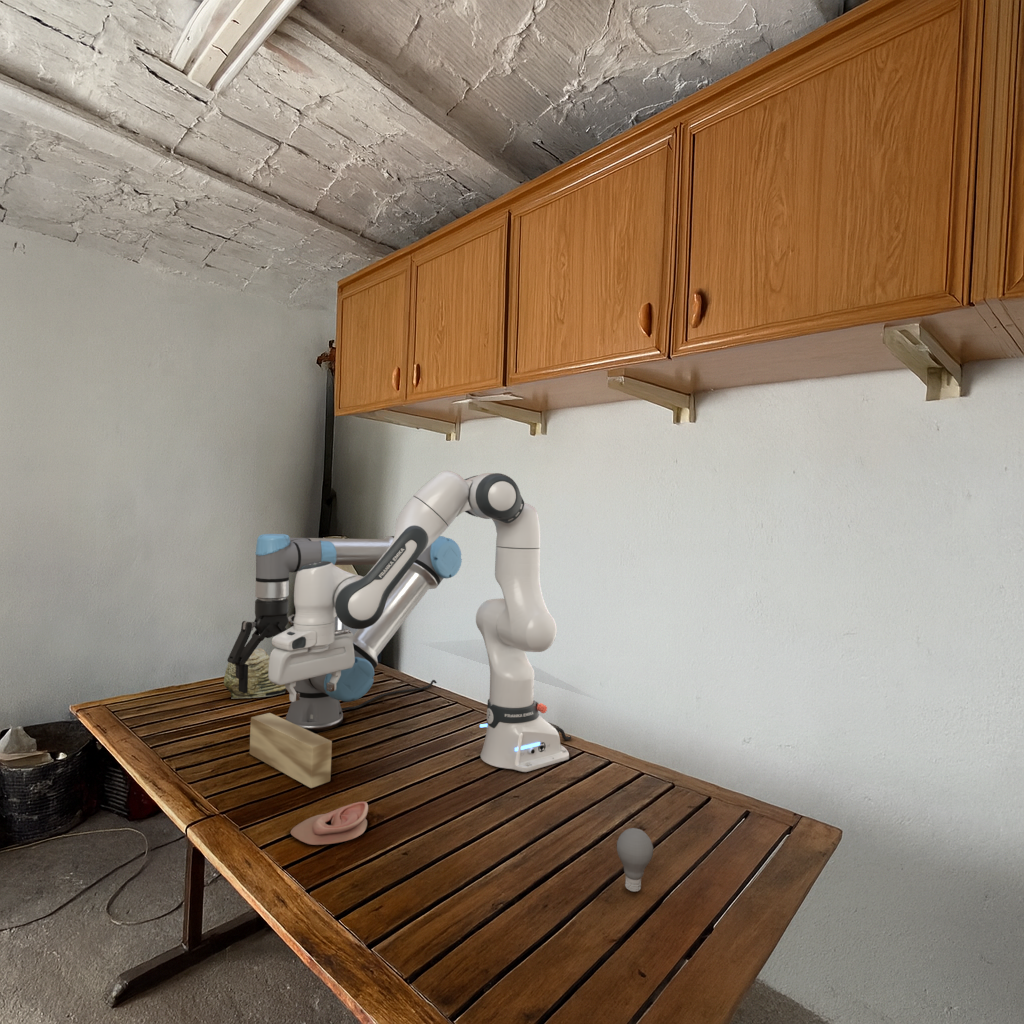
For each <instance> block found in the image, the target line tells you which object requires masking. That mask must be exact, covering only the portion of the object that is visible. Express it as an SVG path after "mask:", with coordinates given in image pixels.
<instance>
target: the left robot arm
mask: <svg viewBox="0 0 1024 1024" xmlns="http://www.w3.org/2000/svg"><path fill="white" fill-rule="evenodd" d="M394 536H395V535H387V536H385V537H384V538H337V537H336V538H334V537H333V538H330V537H328V538H327V537H290V535H288V534H285V533H264V534H263V533H262V534H260V535H258V537H257V539H256V545H255V589H254V591H255V596H254V597H256V599H255V601H254V616H255V618H254V621H248V620H243V621H242V622H241V628H240V631H239V634H238V636H237V637H236V640H235V642H234V645H233V647H232V648H231V651H230V652H229V655H228V657H227V659H226V660H227V663H229V662H230V663H232V664H235V665H236V678H238V679H239V691H240V692H243V693H248V665H247V664H245V663H246V661H247V660H248V659H249V657H250V656H251V654H252V653H253V652H254V650H255V649H257V648H258V646H259V645H260V643H261V642H263V641H264V640H265V639H271V638H273V637H274V636H276V635H278V634H280V633H282V632H284V631H286V630H287V629H288V628H287V625H288V624H289V625H290V628H291V627H292V626H294V617H295V614H294V613H290V614H289V615H288V613H289V599H288V597H289V596H290V595H289V594H290V592H289V591H290V589H289V588H290V587H289V585H290V581H289V580H290V573H297V572H298V570H299V569H300V568H301V567H302V566H304V565H306V564H309V563H314V562H320V561H329V562H332V563H333V564H334V565H335V566H374V565H375V564H376V563H377V562H378V561H379V559H380V558H381V557H382V556H383V555H384V553H385V552H386V551H387V550H388V548H389V547H390V545H391V544H392V542H393V539H394ZM462 560H463V559H462V550H461V548H460V546H459V544H458V543H457V541H455V540H454V539H452V538H449V537H446V536H443V535H440V536H439V537H438V538H437V539H436V540H435V541H434V542H433V543H432V544H431V545H430V546H429V547H428V548H427V549H426V550H425V551H424V552H423V553H422V554H421V555H420V556H419V557H418V558H417V559H416V561H415V562H414V563H413V564H412V566H411V567H410V568H409V570H408V571H407V572H406V573H405V575H404V576H403V577H402V578H401V580H400V581H399V582H398V583H397V585H396V586H395V587H394V588H393V590H392V591H391V593H390V594H389V596H388V598H387V601H386V604H385V608H384V610H383V613H382V615H381V617H380V618H379V620H378V621H377V622H376V623H374V624H373V625H371V626H370V627H367V628H364V629H356V631H355V633H354V634H353V647H354V656H355V663H354V665H353V667H352V668H349V669H345V670H341V676H340V678H339V680H338V682H337V683H336V690H335V691H332V692H329V691H327V689H326V688H327V686H326V683H329V682H330V679H331V677H332V674H330V673H329V674H325V675H321V676H317V677H313V678H309V679H305V680H300V681H296V686H295V687H293V688H294V689H295V691H296V692H299V693H300V696H299V697H300V700H298V701H295V702H292V701H290V704H289V708H288V711H287V713H286V715H285V720H287V721H289V722H291V723H293V724H296V725H298V726H300V727H302V728H304V729H306V730H309V731H311V732H313V733H316V732H325V731H329V730H332V729H335V728H337V727H339V726H340V725H342V723H343V722H344V713H343V711H351V710H355V709H359V708H361V707H364V706H365V705H367V704H369V703H371V702H373V701H376V700H377V699H380V698H382V697H386V696H390V695H394V694H402V693H408V692H414V691H422V690H426V689H429V688H431V687H432V685H433V684H437V683H438V682H437V681H436V680H435V679H432V680H431V681H430V682H429V684H428V685H426V686H421V687H414V688H407V689H401V690H393V691H389V692H385V693H381V694H379V695H377V696H374V697H372V698H370V699H367V700H366V701H364V702H362V703H360V704H358V705H354V706H346V707H342V706H341V702H345V703H347V702H349V703H350V702H355V701H357V700H359V699H361V698H362V697H364V696H366V694H367V693H368V692H369V691H370V689H371V688H372V686H373V684H374V681H375V678H374V677H375V669H376V668H377V666H378V665H379V661H378V656H379V655H380V654H381V652H382V651H383V650H384V648H385V647H386V646H387V644H389V642H390V640H391V639H392V638H393V636H394V635H395V634H396V632H397V631H398V630H399V629H400V627H401V626H402V625H403V624H404V622H405V621H406V620H407V619H408V618H409V616H410V614H411V613H412V612H413V610H414V609H415V608H416V607H417V605H418V604H419V603H420V601H421V600H422V599H423V598H424V596H425V595H426V594H427V592H428V591H429V590H433V589H437V588H438V586H439V585H440V584H441V583H442V582H443V580H444V579H451V578H453V577H455V576H456V575H457V574H458V573H459V571H460V569H461V567H462V562H463V561H462ZM254 629H255V630H254ZM252 631H253V633H252ZM251 633H252V634H251ZM250 636H251V637H250ZM249 638H250V639H249ZM340 701H341V702H340Z"/></svg>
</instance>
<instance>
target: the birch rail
mask: <svg viewBox="0 0 1024 1024" xmlns="http://www.w3.org/2000/svg"><path fill="white" fill-rule="evenodd" d="M332 749H333V741H332V740H330V739H329V738H326V737H324V736H322V735H319V734H317V733H316V732H311V731H309V730H306V729H304V728H302V727H300V726H298V725H296V724H293V723H291V722H289V721H287V720H286V718H282V717H280V716H278V715H276V714H274V713H271V712H267V713H262V714H258V715H255V716H251V717H250V731H249V755H251V756H252V757H254V758H256V759H258V760H260V761H261V762H263V763H265V764H267V765H268V766H270V767H272V768H274V769H275V770H277V771H279V772H280V773H283V774H284V775H287V776H288V777H289V778H291V779H293V780H296V781H297V782H299V783H301V784H303V785H304V786H306V787H307V788H310V789H313V788H316V787H319V786H322V785H324V784H327V783H329V782H331V780H332V779H331V776H332V775H331V774H332V751H333V750H332Z"/></svg>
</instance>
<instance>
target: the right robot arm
mask: <svg viewBox="0 0 1024 1024" xmlns="http://www.w3.org/2000/svg"><path fill="white" fill-rule="evenodd" d="M463 513H466V514H468V515H470V516H472V517H475V518H480V519H485V520H492V522H493V523H494V526H495V530H496V531H495V532H496V538H495V539H496V540H495V562H494V576H495V577H494V578H495V580H496V582H497V584H498V585H499V587H500V589H501V593H502V595H503V598H502V597H501V598H490V599H486V600H485V601H483V602H482V603H481V604H480V606H479V607H478V608H477V611H476V614H475V624H476V627H477V629H478V630H479V632H480V634H481V636H482V638H483V641H484V645H485V649H486V654H487V659H488V664H489V696H488V697H489V698H488V699H487V705H486V723H482V724H479V728H486V732H485V737H484V741H483V746H482V749H481V752H480V755H479V757H480V759H481V761H483V762H484V763H486V764H487V765H490V766H492V767H496V768H500V769H507V770H514V771H518V772H522V773H527V772H531V771H535V770H538V769H541V768H544V767H548V766H551V765H555V764H558V763H561V762H564V761H568V760H569V759H570V753H569V751H568V750H567V748H566V747H565V746H563V744H561V738H560V735H561V736H562V739H563V740H564V741H569V740H571V739H572V736H571V735H568V736H570V737H568V736H566V734H565V731H564V729H563V728H562V727H560V726H559V725H556V724H554V723H552V722H549V721H548V720H546V719H544V718H543V716H541V715H540V713H541V714H545V713H546V712H548V706H547V705H545V704H544V703H540V702H538V701H536V700H534V696H535V695H534V693H535V675H536V674H535V670H534V667H533V665H532V664H531V662H530V660H529V658H528V655H527V653H542V652H545V651H547V650H548V649H550V648H551V646H552V645H553V644H554V642H555V639H556V637H557V633H558V632H557V631H558V627H557V623H556V620H555V618H554V616H552V614H551V613H550V611H549V610H548V607H547V605H546V601H545V599H544V594H543V590H542V586H541V578H540V577H541V576H540V575H541V574H540V572H541V571H540V567H541V566H540V564H541V562H540V561H541V526H540V518H539V513H538V511H537V509H536V508H535V507H534V506H533V505H531V504H530V503H527V502H525V501H524V499H523V497H522V495H521V491H520V489H519V486H518V484H517V483H516V482H515V480H514V479H513V478H511V477H510V476H508V475H506V474H504V473H501V472H495V473H494V472H486V473H481V474H478V475H473V476H470V477H468V478H464V477H462V476H461V475H460V474H458V473H457V472H455V471H451V470H443V471H440V472H438V473H436V474H435V475H434V476H433V477H431V478H430V479H429V480H428V481H426V482H425V484H423V485H422V486H421V487H420V488H419V489H418V490H417V491H416V492H415V493H414V494H413V496H411V497H410V499H409V500H408V501H407V502H406V503H405V505H404V506H403V507H402V508H401V511H400V512H399V514H398V516H397V518H396V520H395V529H394V531H395V532H394V535H393V536H394V539H393V542H392V544H391V545H390V547H389V548H388V550H387V551H386V552H385V553H384V555H383V556H382V557H381V558H380V559H379V561H378V562H377V563H376V564H375V565H373V566H372V568H371V569H370V570H369V571H368V572H367V574H366V575H364V576H362V575H359V574H355V573H352V572H350V571H346V570H345V569H342V568H341V567H339V566H338V565H334V564H333V563H332V562H329V561H320V562H314V563H309V564H306V565H304V566H302V567H301V568H300V569H299V570H298V572H296V575H295V579H294V589H293V605H294V608H295V614H294V615H295V617H294V626H292V627H291V626H290V627H289V628H286V629H287V630H286V631H284V632H282V633H280V634H278V635H276V636H273V637H271V638H272V639H271V644H272V647H274V648H273V649H272V650H271V652H270V655H269V656H270V659H269V670H268V677H269V680H270V681H271V682H272V683H274V684H276V685H284V684H285V687H286V689H287V690H286V691H287V692H288V693H289V694H288V695H289V696H288V697H289V698H288V699H289V701H290V702H295V701H298V700H300V697H299V696H300V693H299V692H296V691H295V689H294V687H295V686H296V681H300V680H305V679H309V678H313V677H317V676H321V675H325V674H329V673H330V674H332V677H331V679H330V682H329V683H326V686H327V688H326V689H327V691H329V692H332V691H335V690H336V683H337V682H338V680H339V678H340V676H341V670H345V669H349V668H352V667H353V665H354V663H355V656H354V647H353V635H354V634H353V632H352V631H351V630H350V629H354V630H358V629H364V628H367V627H370V626H371V625H373V624H374V623H376V622H377V621H378V620H379V618H380V617H381V615H382V613H383V610H384V608H385V604H386V601H387V598H388V596H389V594H390V593H391V591H392V590H393V588H394V587H395V586H396V585H397V583H398V582H399V581H400V580H401V578H402V577H403V576H404V575H405V573H406V572H407V571H408V570H409V568H410V567H411V566H412V564H413V563H414V562H415V561H416V559H417V558H418V557H419V556H420V555H421V554H422V553H423V552H424V551H425V550H426V549H427V548H428V547H429V546H430V545H431V544H432V543H433V542H434V541H435V540H436V539H437V538H438V537H439V536H442V535H443V533H444V532H445V531H446V530H447V529H448V528H449V527H450V525H451V524H452V523H453V522H454V520H455V519H456V518H457V517H459V516H460V515H461V514H463ZM336 617H337V618H338V620H339V622H341V623H342V624H343V625H344V626H345V627H347V628H342V629H336ZM348 628H350V629H348ZM539 712H540V713H539Z"/></svg>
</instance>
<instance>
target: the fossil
mask: <svg viewBox="0 0 1024 1024" xmlns="http://www.w3.org/2000/svg"><path fill="white" fill-rule="evenodd" d="M269 659H270V655H269V654H268V653H267V651H265V649H263V648H256V649H255V650H254V652H253V653H252V654H251V656H250V657H249V659H248V660H247V661H246V663H245V664H247V665H248V693H243V692H240V691H239V679H238V678H236V665H235V664H232V663H230V662H227V666H226V669H225V673H224V677H223V678H224V679H223V686H224V687H225V688H226V689H227V691H228V692H229V693H230V696H231V697H230V698H231V699H233V700H234V699H235V700H236V699H237V700H238V699H252V698H253V699H255V698H258V699H259V698H266V697H273V696H274V697H275V696H277V695H282V694H285V693H286V691H288V690H287V689H286V687H285V684H284V685H276V684H274V683H272V682H271V681H270V680H269V677H268V670H269Z"/></svg>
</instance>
